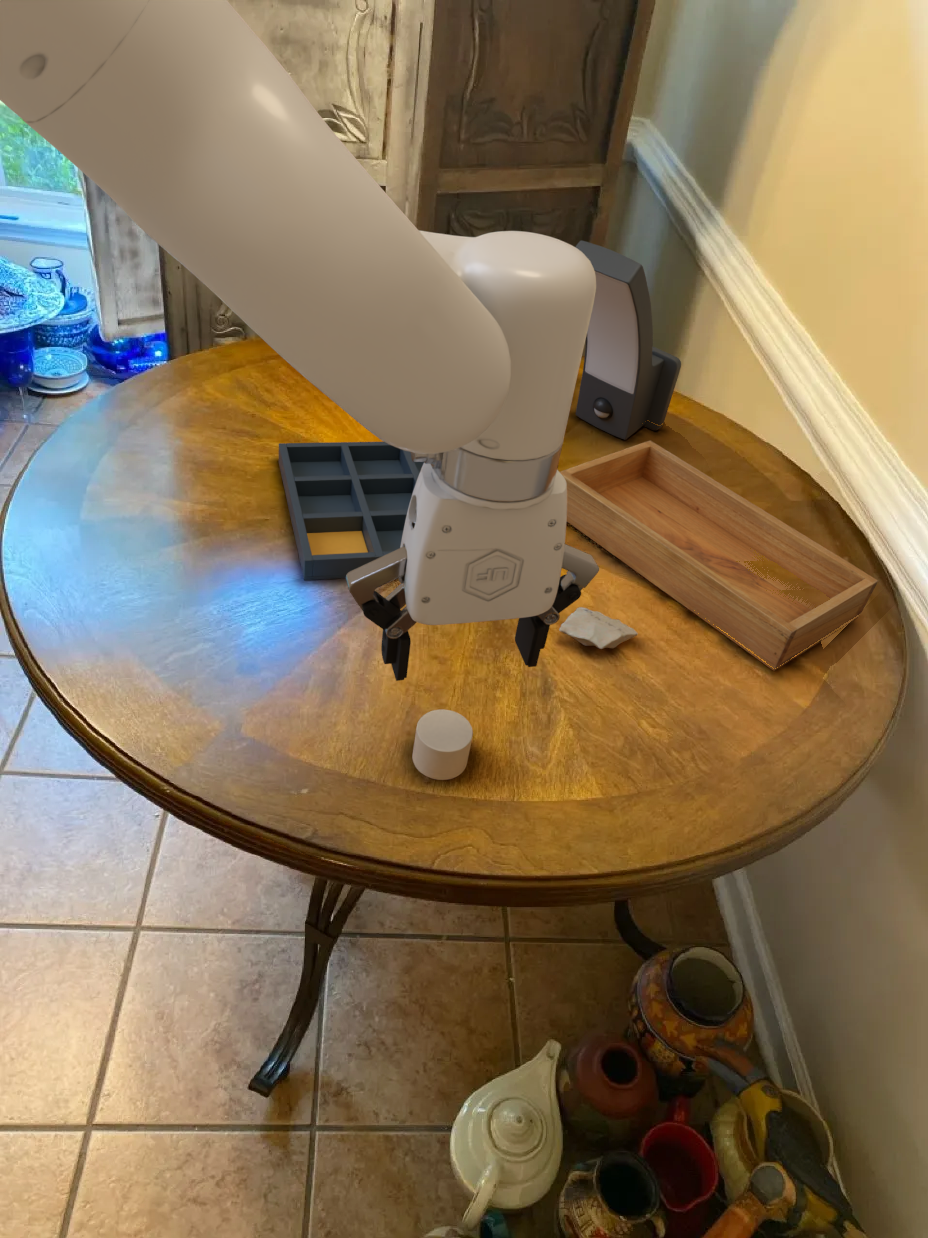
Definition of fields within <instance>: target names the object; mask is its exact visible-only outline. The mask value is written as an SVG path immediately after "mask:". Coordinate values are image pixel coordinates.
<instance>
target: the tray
mask: <svg viewBox="0 0 928 1238" xmlns="http://www.w3.org/2000/svg"><path fill="white" fill-rule="evenodd" d="M559 472H560V473H561V474H562V476H563V477H564V478H565V480H566V483H567V521H566V523H568V524H569V525H571V526H572V527H574V528H575V529H576V530H578V531H579V532H580V533H582V534H584V536H586V537H588V538H589V539H591V540H592V541H593V542H595V543H596V544H598V546H601V547H602V548H603V549H604V550H606V551H607V552H609V553H610V554H611V555H613V556H614V557H616V558H617V559H618V560H620V561H621V562H622V563H624V564H625V565H626V566H628V567H629V568H631V569H632V570H633V571H634V572H636V573H637V574H639V575H640V576H642V577H643V578H644V579H646V580H647V581H649V582H650V583H652V584H653V585H654V586H656V587H657V588H658V589H660V590H661V591H663V592H664V593H665V594H667V595H668V596H669V597H670V598H672V599H674V601H677V603H679V604H681V605H682V606H684V607H685V608H687V610H689V611H690V612H692V613H693V614H695V616H698V617H699V618H700V619H701V620H703V621H704V622H705V623H707V624H708V625H709V626H711V627H713V628H714V629H715V630H717V631H718V632H719V633H720V634H722V635H724V636H725V637H726V638H727V639H729V640H731V641H732V642H733V643H734V644H736V645H737V646H739V647H740V648H742V649H743V650H744V651H746V652H747V653H748V654H750V656H752V657H754V658H755V659H756V660H758V661H759V662H761V663H762V664H764V666H766V667H768V668H769V669H770V670H771V671H776V670H778V669H779V668H781V667H783V666H784V665H786V664H788V663H789V662H790V661H792V660H794V659H796V658H797V657H798V656H800V655H802V654H804V653H806V652H807V651H808V650H810V649H811V648H813V647H814V646H816V645H818V644H819V643H821V642H823V641H824V640H826V639H827V638H828V637H831V636H832V635H833V634H835V633H837V632H838V631H839V630H841V629H843V628H844V627H846V626H847V625H849V624H850V623H852V622H854V621H855V620H857V619H858V618H859V617H857V618H856V619H854V620H853V621H851V622H850V623H848V624H846V625H845V626H843V627H842V628H840V629H839V630H837V631H835V632H834V633H832V634H831V635H829V636H828V637H826V638H824V639H823V640H821V641H820V642H818V643H816V644H815V645H813V646H812V647H810V648H809V649H807V650H805V651H804V652H802V653H801V654H799V655H797V654H798V653H800V652H801V651H803V650H804V649H806V648H808V647H809V646H810V645H812V644H814V643H815V642H817V641H818V640H820V639H821V638H823V637H825V636H826V635H828V634H829V633H831V632H832V631H834V630H835V629H837V628H839V627H840V626H841V625H843V624H844V623H846V622H848V621H849V620H851V619H853V618H854V617H856V616H857V615H859V614H860V615H861V613H862V612H863V611H864V609H865V607H866V606H867V604H868V602H869V600H870V597H871V596H872V594H873V592H874V590H875V588H876V586H877V585H878V582H879V580H878V579H876V578H875V577H873V576H871V575H870V574H869V573H866V572H865V571H863V570H862V569H861V568H858V567H857V566H855V565H854V564H852V563H851V562H849V561H847V560H846V559H844V558H843V557H841V556H839V555H838V554H836V553H834V552H832V551H831V550H829V549H827V548H826V547H824V546H822V545H821V544H820V543H818V542H816V541H814V540H812V539H811V538H810V537H808V536H806V534H805V535H804V534H803V533H801V532H800V531H798V530H796V529H795V528H794V527H792V526H790V525H788V524H786V523H785V522H783V521H782V520H780V519H779V518H777V517H776V516H774V515H772V514H771V513H769V512H767V511H766V510H764V509H762V508H760V507H759V506H758V505H756V504H754V503H752V502H751V501H749V500H747V499H746V498H744V497H742V496H741V495H739V494H738V493H736V492H735V491H733V490H732V489H729V488H728V487H726V486H725V485H724V484H722V483H720V482H718V481H716V480H715V479H713V478H712V477H711V476H709V475H707V474H706V473H704V472H702V471H701V470H699V469H698V468H696V467H694V466H692V465H691V464H690V463H687V462H686V461H684V460H683V459H682V458H680V457H679V456H676V455H675V454H673V453H671V452H670V451H668V450H666V449H665V448H663V447H662V446H660V445H659V444H657V443H655V442H654V441H652V440H647V441H644V442H642V443H638V444H636V445H632V446H629V447H627V448H624V449H621V450H618V451H616V452H612V453H610V454H607V455H604V456H601V457H599V458H594V459H592V460H589V461H587V462H584V463H580V464H579V465H575V466H573V467H572V466H571V467H570V468H567V469H563V470H561V471H559ZM750 548H751V549H750ZM754 550H755V551H756V553H757V554H758V553H759V554H758V555H759V556H760V555H761V556H762V555H763V556H765V558H767V560H768V559H769V560H770V561H773V562H775V563H777V564H778V565H779V566H781V567H782V568H784V569H786V570H788V571H789V572H791V573H793V574H794V575H796V576H797V577H798V578H800V579H801V580H803V581H804V582H806V583H807V584H809V585H811V586H812V587H814V588H816V589H817V590H820V591H821V592H823V593H824V594H826V596H827V597H829V598H830V600H828V601H826V602H824V603H823V604H821V605H818V606H817V607H816V608H815V607H814V605H815V604H814V605H813V604H812V605H813V606H812V605H811V606H810V604H811V603H810V602H809V603H810V604H809V603H808V604H807V603H805V602H806V601H807V600H808V599H807V600H806V601H805V600H804V601H805V602H804V601H803V602H802V600H803V599H802V598H803V597H802V598H801V599H800V600H799V601H798V597H799V596H798V597H797V596H796V597H797V598H796V599H795V600H794V599H793V598H794V596H793V597H792V596H791V595H790V596H791V597H792V598H791V597H790V596H789V594H790V593H789V594H788V595H787V596H786V595H785V594H784V592H783V593H782V594H781V593H780V592H781V591H782V590H786V589H787V588H788V589H787V590H791V589H792V588H793V587H794V586H793V587H792V588H791V589H789V588H790V586H791V585H792V584H791V585H789V586H788V585H787V584H788V583H789V582H788V583H787V584H786V583H785V584H786V585H787V586H788V587H787V586H786V585H785V584H783V583H784V582H783V581H782V582H783V583H782V582H781V581H780V580H779V579H777V580H776V579H775V578H776V577H775V578H774V577H773V578H774V579H775V580H776V581H775V580H774V579H773V578H771V577H770V576H769V575H768V574H767V575H768V576H767V579H766V578H764V577H765V576H764V575H763V574H762V573H761V572H760V571H759V570H758V569H757V568H756V569H757V570H758V571H759V572H760V573H761V574H762V575H763V576H762V575H761V574H760V573H759V572H758V571H757V572H758V573H759V574H760V575H761V576H762V577H761V576H760V575H759V574H758V575H759V576H760V577H759V576H758V575H757V572H755V571H754V569H752V567H750V565H751V564H750V565H748V563H749V562H750V561H757V560H758V561H759V559H760V558H759V557H758V555H757V554H756V553H755V551H754ZM753 552H754V553H753ZM754 554H755V555H754ZM754 556H755V557H756V556H757V557H758V558H759V559H757V557H756V558H755V557H754ZM761 556H760V557H761ZM752 557H753V558H752ZM763 558H764V557H763ZM754 559H755V560H754ZM761 559H762V558H761ZM761 559H760V560H761ZM769 560H768V561H769ZM736 561H738V562H736ZM739 561H740V562H739ZM744 561H749V562H748V563H747V562H746V563H744ZM761 561H762V560H761ZM763 561H764V560H763ZM750 563H751V562H750ZM745 565H746V566H745ZM752 565H753V564H752ZM752 565H751V566H752ZM747 567H748V568H747ZM749 567H750V568H749ZM754 567H755V566H754ZM754 567H753V568H754ZM746 568H747V569H746ZM762 568H763V567H762ZM767 568H768V567H767ZM749 569H750V570H749ZM751 569H752V570H751ZM756 569H755V570H756ZM748 570H749V571H748ZM764 570H765V569H764ZM753 571H754V572H753ZM768 571H769V570H768ZM750 572H751V573H750ZM752 572H753V573H752ZM767 573H768V572H767ZM754 574H755V575H754ZM769 577H770V578H771V579H770V578H769ZM763 578H764V579H763ZM768 578H769V579H768ZM772 579H773V580H774V581H773V580H772ZM778 580H779V581H780V582H781V583H782V584H783V585H782V584H781V583H780V582H779V581H778ZM797 584H798V583H797ZM797 584H796V585H797ZM785 586H786V587H785ZM794 588H795V587H794ZM797 588H798V589H799V588H800V587H799V586H798V587H797ZM797 588H796V589H797ZM798 589H797V590H798ZM803 589H804V588H803ZM803 589H802V590H803ZM766 590H767V591H766ZM770 590H771V591H770ZM773 590H774V591H773ZM777 590H778V591H777ZM779 590H781V591H780V592H779ZM792 590H793V589H792ZM794 590H795V589H794ZM799 590H801V589H799ZM775 592H776V593H775ZM772 593H773V594H772ZM779 593H780V594H781V595H780V594H779ZM778 594H779V595H778ZM784 595H785V596H786V597H785V596H784ZM783 596H784V597H783ZM789 597H790V598H789ZM788 598H789V599H788ZM793 600H794V601H793ZM792 601H793V602H792ZM801 602H802V603H801ZM795 603H796V604H795ZM806 604H807V605H806ZM809 606H810V607H809ZM808 607H809V608H808ZM813 607H814V608H813ZM812 608H813V609H812ZM694 610H695V611H694ZM698 613H699V614H698ZM860 615H859V616H860ZM705 618H706V619H705ZM708 620H709V621H710V622H709V621H708ZM713 624H714V625H713ZM716 626H717V627H719V628H720V629H721V630H723V631H724V632H726V633H728V635H730V636H731V637H733V638H735V640H737V641H738V642H740V643H741V644H743V645H744V646H745V647H746V648H748V649H750V650H751V651H753V652H754V654H756V655H757V656H759V657H760V658H761V659H763V660H764V661H766V663H767V664H769V665H770V666H772V667H773V668H774V669H773V668H772V667H770V666H769V665H767V664H766V663H765V662H763V661H762V660H761V659H759V658H758V657H757V656H755V655H754V654H752V653H751V652H750V651H748V650H747V649H746V648H744V647H743V646H742V645H740V644H739V643H738V642H736V641H735V640H734V639H732V638H731V637H730V636H728V635H727V634H726V633H724V632H723V631H721V630H720V629H719V628H717V627H716ZM795 655H797V656H796V657H794V656H795ZM792 657H794V658H792ZM791 658H792V659H791ZM790 659H791V660H790ZM788 660H789V661H788ZM786 661H788V662H786ZM785 662H786V663H785ZM783 663H784V664H783ZM782 664H783V665H782ZM780 665H781V666H780ZM777 667H778V668H777ZM775 668H776V669H775Z"/></svg>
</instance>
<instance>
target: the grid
mask: <svg viewBox="0 0 928 1238" xmlns="http://www.w3.org/2000/svg"><path fill="white" fill-rule="evenodd" d="M423 464H424V462H413V461H412V458H411V452H409V451H404V450H402V449H399V448H397V447H394V446H392V445H389V444H387V443H386V442H384V441H352V442H351V441H343V442H342V441H337V442H336V441H335V442H333V441H332V442H331V441H330V442H286V443H285V442H284V443H283V442H281V443H278V465H279V470H280V474H281V480H282V484H283V489H284V494H285V498H286V503H287V508H288V511H289V517H290V521H291V525H292V526H291V527H292V531H293V535H294V540H295V545H296V549H297V554H298V559H299V563H300V569H301V572H302V577H303V580H304V581H313V580H315V581H316V580H331V579H332V580H333V579H346V575H347V573H349V572H350V571H352V570H354V569H356V568H359V567H361V566H363V565H365V564H367V563H369V562H371V561H374V560H376V559H378V558H380V557H382V556H384V555H386V554H389V553H391V552H393V551H395V550H397V549H399V548H400V546H401V540H402V535H403V530H404V525H405V520H406V516H407V512H408V508H409V504H410V500H411V497H412V494H413V490H414V487H415V484H416V481H417V479H418V476H419V473H420V471H421V468H422V466H423Z"/></svg>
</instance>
